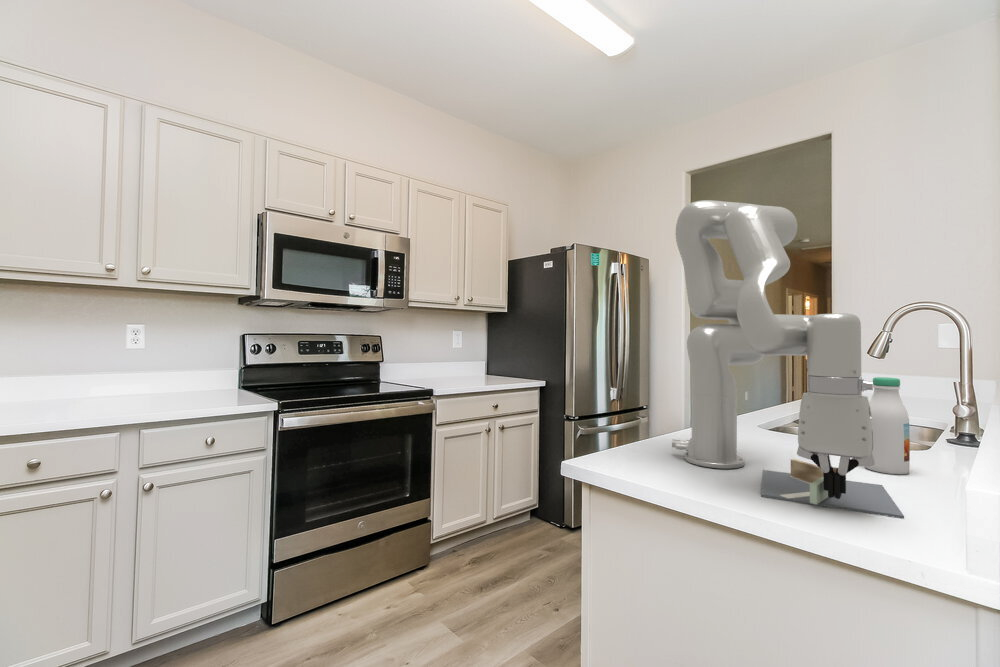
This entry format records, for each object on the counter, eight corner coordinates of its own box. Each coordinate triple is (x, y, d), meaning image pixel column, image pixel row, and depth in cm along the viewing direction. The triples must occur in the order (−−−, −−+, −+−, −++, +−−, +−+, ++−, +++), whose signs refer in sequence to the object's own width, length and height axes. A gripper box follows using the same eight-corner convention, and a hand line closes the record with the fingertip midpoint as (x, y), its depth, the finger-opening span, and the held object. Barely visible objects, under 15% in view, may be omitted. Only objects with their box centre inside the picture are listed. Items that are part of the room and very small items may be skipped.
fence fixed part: (789, 478, 96) (789, 455, 96) (795, 477, 97) (795, 455, 97) (837, 495, 86) (837, 470, 86) (844, 494, 87) (844, 469, 87)
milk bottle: (896, 477, 97) (896, 380, 98) (855, 467, 105) (855, 376, 105) (917, 472, 101) (917, 378, 101) (876, 463, 108) (876, 375, 108)
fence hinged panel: (831, 489, 87) (831, 472, 87) (837, 491, 86) (838, 473, 86) (809, 502, 80) (809, 483, 80) (816, 504, 79) (816, 485, 79)
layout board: (761, 496, 85) (761, 494, 85) (763, 471, 101) (763, 469, 101) (904, 518, 75) (904, 515, 75) (882, 487, 91) (882, 484, 91)
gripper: (891, 388, 78) (892, 500, 78) (786, 382, 88) (787, 482, 87) (890, 391, 72) (892, 513, 72) (778, 385, 82) (779, 492, 82)
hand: (834, 495), depth 80 cm, fingers closed
